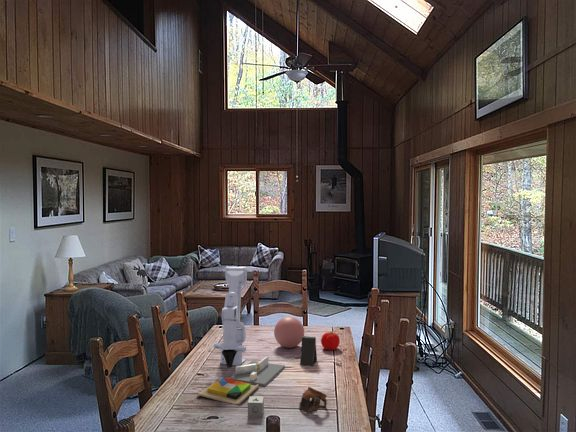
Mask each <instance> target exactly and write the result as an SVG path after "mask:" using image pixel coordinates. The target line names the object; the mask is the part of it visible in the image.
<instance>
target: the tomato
mask: <svg viewBox="0 0 576 432" xmlns="http://www.w3.org/2000/svg"><path fill="white" fill-rule="evenodd" d="M340 340H341V338H340V336H339V334H337V333H335V332H332V331H329V332H325V333H324V334H322V336H321V339H320V344H321V346H322V348H324V350H330V351H332V350H336V349H338V347H339V345H340V342H341V341H340Z"/></svg>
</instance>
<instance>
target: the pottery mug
mask: <svg viewBox="0 0 576 432" xmlns="http://www.w3.org/2000/svg"><path fill="white" fill-rule="evenodd" d="M321 401H322V402H323V408H327V404H328V403H327V394H326V393H324V392H321V391H320V390H318V389H314V388H313V387H311V386H308V387H307V389H305V391H304V392H303V393H302V396H301V400H300V402H299V404H298V405H299V406H298V409H299V410H301V411H302V412H304V413H306V414H309V413H310V411H311V412H312V413H314V412H315V413H317V412H318V409H319V406H320V404H321Z"/></svg>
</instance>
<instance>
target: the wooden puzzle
mask: <svg viewBox="0 0 576 432" xmlns="http://www.w3.org/2000/svg"><path fill="white" fill-rule="evenodd" d="M230 378H231V377H226V376H223V377H220V378H218V379H216V380H215V381H214V382H213V383H211V384H210V385H209V386H207V387H206V388H204V389H203V390H201V391H200V392H199V393H198V394H197V395H196V397H197V398H199V397H204V398H207V399H211V400H215V401H218V402H222V403H225V402H226V404H230V403H232V404H231V405H236V404H238V405H240V404H241V403H243V402H244V401H245V400H246V399H247V398H248V397H250V396H251V394H253V392H255V390H257V389H258V388H259V385H258V384H257V385H253V384H249V383H245V382H241V381H236V380H233V379H230ZM238 405H237V406H238Z"/></svg>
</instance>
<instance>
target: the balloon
mask: <svg viewBox="0 0 576 432" xmlns="http://www.w3.org/2000/svg"><path fill="white" fill-rule="evenodd" d="M273 333H274V339H275V340H276V341H275V342H277V344H278V345H280V346H281V347H283V348H286V349H287V348H288V349H292V348H295V347H297V346H298V345H300V344H302V337H303V336H305V327H304V325H303V323H302V322H301V321H300V320H299V319H298V318H297V317H296V318H295V317H293V316H285V317H282V318H281V319H279V320H278V321H277V323H276V324H275V325H274V329H273Z"/></svg>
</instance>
